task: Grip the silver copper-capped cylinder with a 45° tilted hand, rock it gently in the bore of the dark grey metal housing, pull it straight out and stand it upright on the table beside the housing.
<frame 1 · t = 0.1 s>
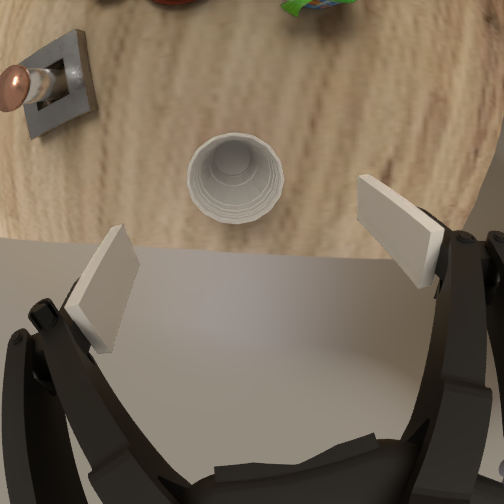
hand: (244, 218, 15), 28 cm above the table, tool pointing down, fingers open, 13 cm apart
metal housing: (59, 84, 29), on the table
silver copper-capped cylinder: (37, 85, 23), in the metal housing
plastic cup: (230, 157, 40), on the table
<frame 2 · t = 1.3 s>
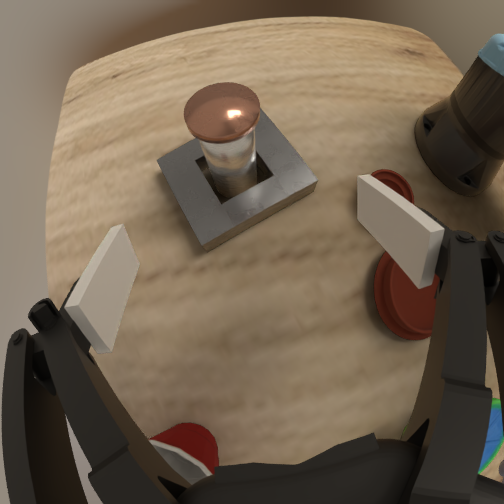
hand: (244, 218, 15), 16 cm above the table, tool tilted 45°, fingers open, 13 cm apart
metal housing: (235, 179, 32), on the table
snack cup: (434, 421, 25), on the table
silver copper-capped cylinder: (229, 149, 26), in the metal housing
pottery: (399, 256, 30), on the table
plastic cup: (192, 440, 26), on the table
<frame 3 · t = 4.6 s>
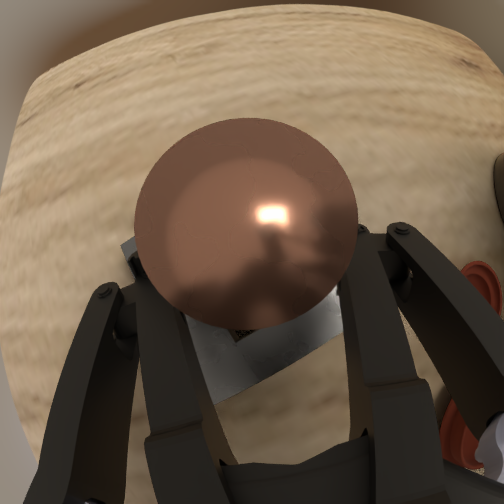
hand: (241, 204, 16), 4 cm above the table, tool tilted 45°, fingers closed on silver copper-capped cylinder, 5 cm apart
metal housing: (255, 276, 20), on the table
silver copper-capped cylinder: (252, 258, 13), in the metal housing, touching gripper
pottery: (469, 372, 17), on the table
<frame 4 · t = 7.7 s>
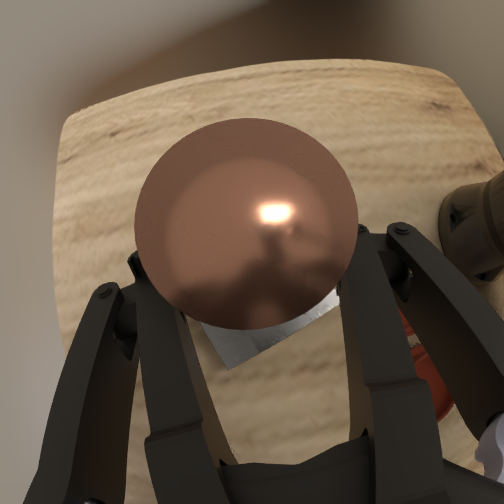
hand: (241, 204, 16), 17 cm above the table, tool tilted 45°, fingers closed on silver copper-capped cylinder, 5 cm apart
metal housing: (257, 290, 32), on the table
silver copper-capped cylinder: (252, 258, 13), point 19 cm above the table, touching gripper
pottery: (407, 358, 30), on the table
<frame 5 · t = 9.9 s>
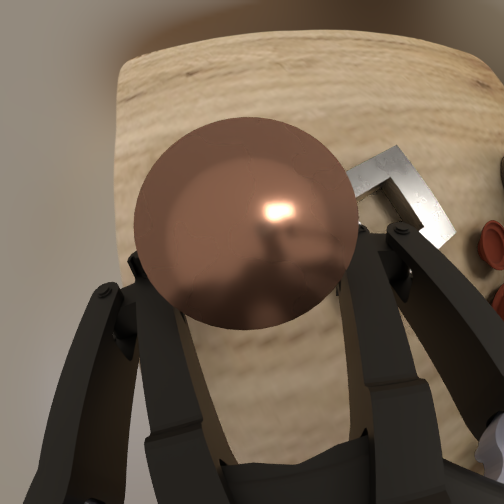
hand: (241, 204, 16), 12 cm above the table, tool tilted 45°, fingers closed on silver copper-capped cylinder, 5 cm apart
metal housing: (377, 224, 28), on the table
silver copper-capped cylinder: (252, 258, 13), point 14 cm above the table, touching gripper
pottery: (496, 296, 26), on the table
when the fingers open (6 cm above the table, at t = 11.3 s): silver copper-capped cylinder drops 1 cm, on the table.
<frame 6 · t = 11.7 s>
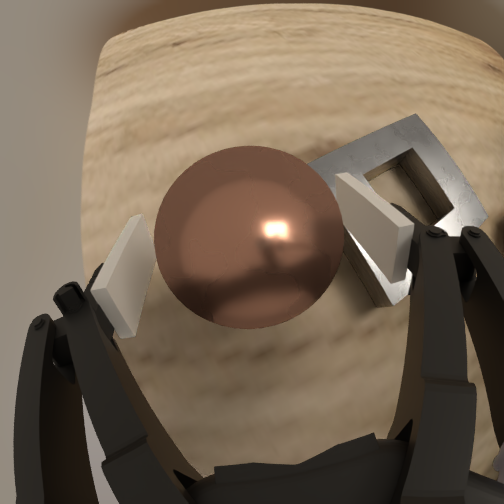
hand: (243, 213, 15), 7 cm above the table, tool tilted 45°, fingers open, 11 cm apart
metal housing: (397, 204, 22), on the table
silver copper-capped cylinder: (253, 264, 15), on the table
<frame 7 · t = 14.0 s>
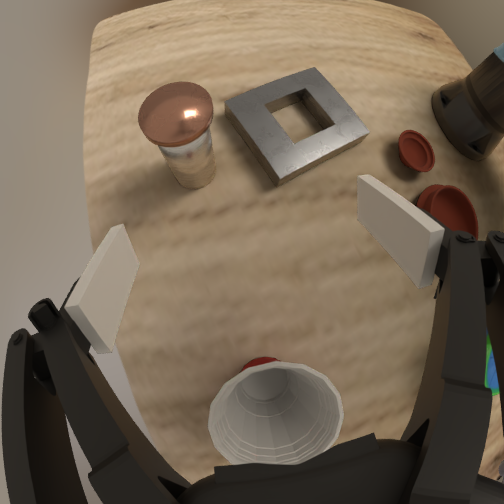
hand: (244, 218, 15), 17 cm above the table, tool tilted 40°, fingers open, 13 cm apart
metal housing: (295, 125, 33), on the table
snack cup: (459, 346, 32), on the table
silver copper-capped cylinder: (186, 145, 26), on the table
pottery: (426, 201, 34), on the table
plastic cup: (263, 377, 30), on the table
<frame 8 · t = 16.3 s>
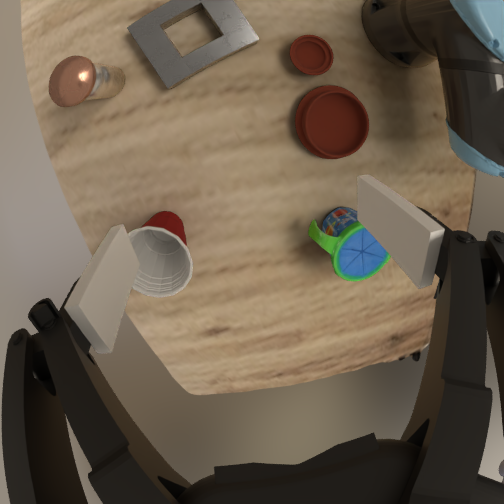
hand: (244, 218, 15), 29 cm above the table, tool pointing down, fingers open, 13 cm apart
metal housing: (193, 33, 30), on the table
snack cup: (339, 224, 49), on the table
silver copper-capped cylinder: (92, 81, 26), on the table
pottery: (319, 96, 37), on the table
plastic cup: (166, 224, 45), on the table
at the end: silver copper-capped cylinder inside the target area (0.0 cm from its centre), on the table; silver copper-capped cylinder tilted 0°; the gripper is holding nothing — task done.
